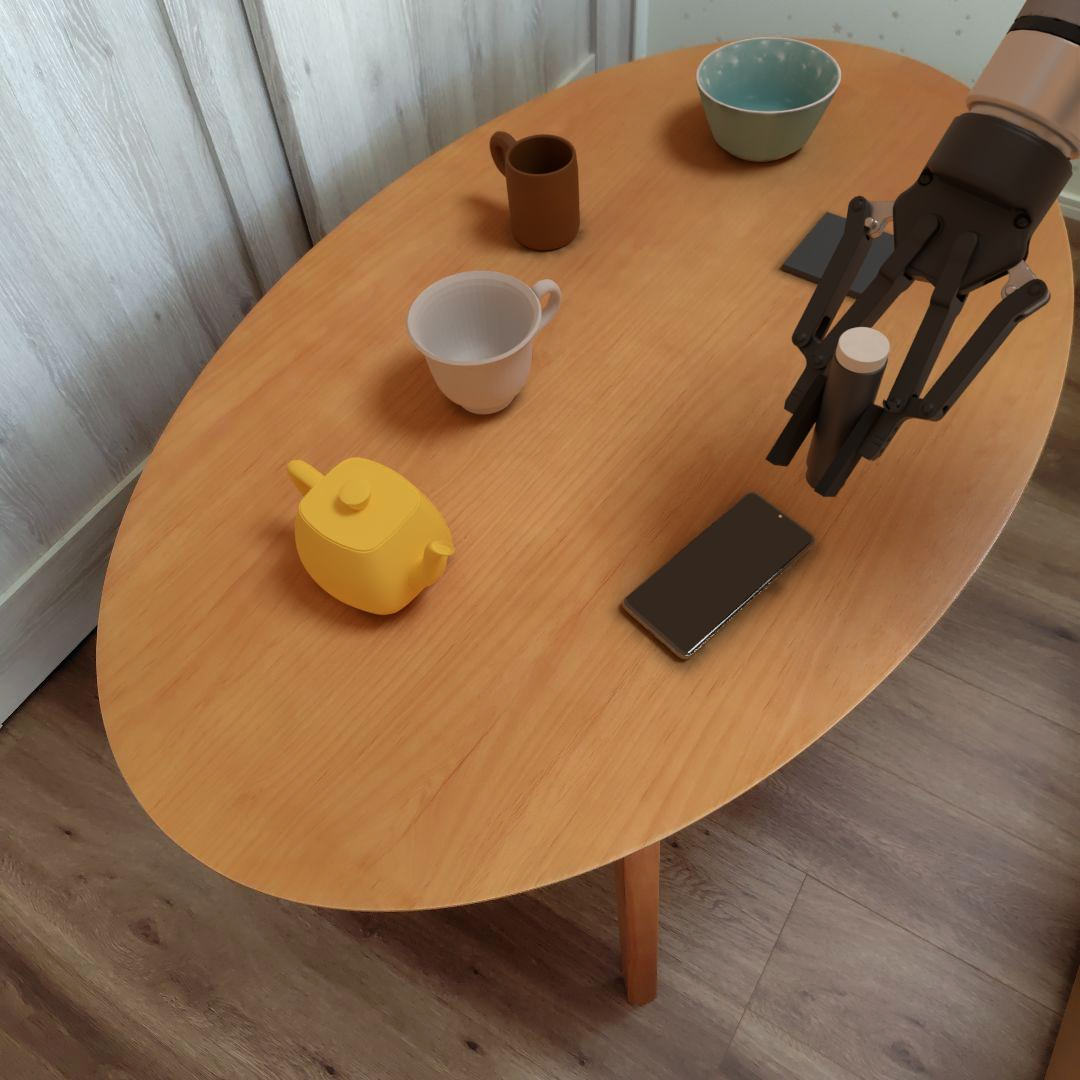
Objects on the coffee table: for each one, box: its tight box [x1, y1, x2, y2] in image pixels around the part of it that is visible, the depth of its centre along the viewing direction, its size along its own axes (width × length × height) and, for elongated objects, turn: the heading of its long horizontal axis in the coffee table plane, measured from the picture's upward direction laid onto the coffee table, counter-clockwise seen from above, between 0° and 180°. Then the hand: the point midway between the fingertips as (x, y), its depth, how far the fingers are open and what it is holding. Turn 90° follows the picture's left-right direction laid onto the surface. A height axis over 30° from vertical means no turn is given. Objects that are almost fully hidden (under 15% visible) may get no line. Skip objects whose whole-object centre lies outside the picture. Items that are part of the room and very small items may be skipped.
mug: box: [489, 130, 581, 251], centre depth 101 cm, size 12×8×9 cm, turn 41°
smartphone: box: [622, 491, 816, 660], centre depth 77 cm, size 7×1×16 cm
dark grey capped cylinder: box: [805, 327, 891, 490], centre depth 62 cm, size 3×3×13 cm
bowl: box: [695, 36, 842, 163], centre depth 108 cm, size 16×16×8 cm
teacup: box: [405, 270, 563, 415], centre depth 87 cm, size 12×15×10 cm
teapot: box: [286, 456, 456, 616], centre depth 76 cm, size 18×11×11 cm, turn 53°
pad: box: [781, 211, 894, 300], centre depth 98 cm, size 10×10×1 cm
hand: (800, 477), depth 63 cm, fingers closed on dark grey capped cylinder, 3 cm apart
